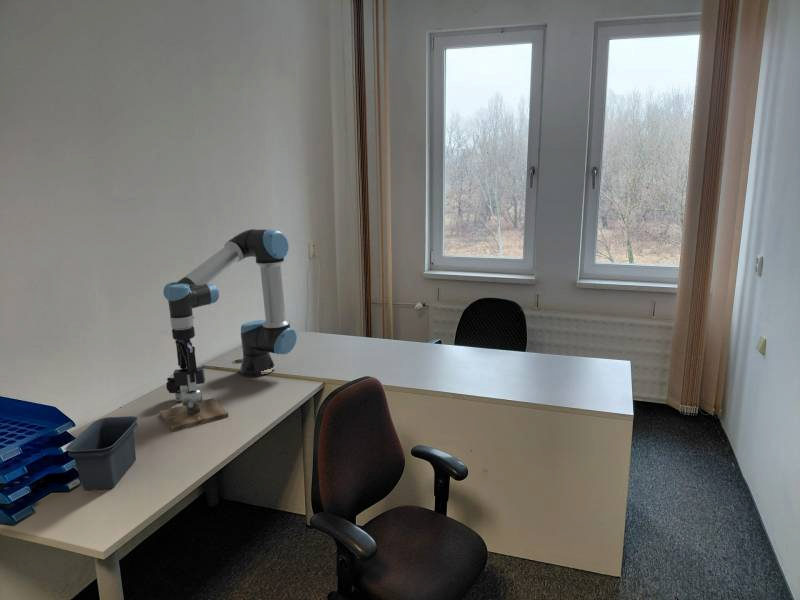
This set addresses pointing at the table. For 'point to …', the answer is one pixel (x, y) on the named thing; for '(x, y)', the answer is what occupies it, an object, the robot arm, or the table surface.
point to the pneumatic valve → (174, 388)
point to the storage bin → (104, 451)
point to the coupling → (188, 396)
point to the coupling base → (193, 414)
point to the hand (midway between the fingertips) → (189, 387)
